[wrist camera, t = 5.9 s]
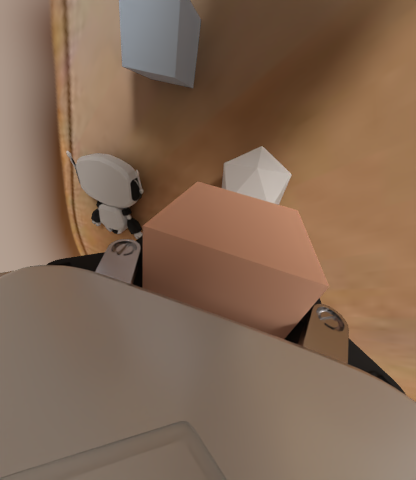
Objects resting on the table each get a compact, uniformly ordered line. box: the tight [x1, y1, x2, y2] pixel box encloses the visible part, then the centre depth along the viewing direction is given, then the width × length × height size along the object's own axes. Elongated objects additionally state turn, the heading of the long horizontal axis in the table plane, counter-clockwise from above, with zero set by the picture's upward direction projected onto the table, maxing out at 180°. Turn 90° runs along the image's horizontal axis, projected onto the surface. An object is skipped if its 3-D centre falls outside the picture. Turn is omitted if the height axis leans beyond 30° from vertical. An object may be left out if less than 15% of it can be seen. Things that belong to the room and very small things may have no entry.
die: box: [222, 146, 292, 205], centre depth 24 cm, size 8×9×10 cm
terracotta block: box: [143, 181, 329, 339], centre depth 10 cm, size 6×6×6 cm
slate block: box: [119, 0, 201, 88], centre depth 20 cm, size 6×6×6 cm
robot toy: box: [67, 151, 144, 239], centre depth 33 cm, size 12×4×15 cm
